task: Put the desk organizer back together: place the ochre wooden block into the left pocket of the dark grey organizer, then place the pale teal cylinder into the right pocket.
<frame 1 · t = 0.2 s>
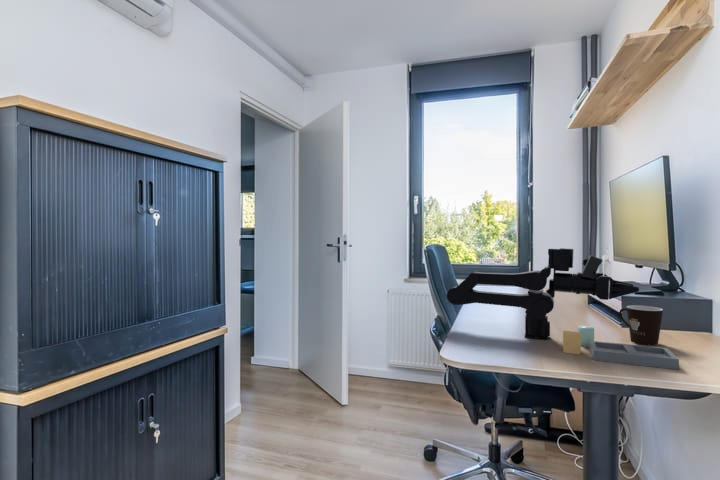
hand: (635, 287, 109), 16 cm above the table, tool horizontal, fingers open, 9 cm apart
ochre block: (571, 351, 105), on the table
organizer: (630, 358, 98), on the table
coffee mug: (641, 341, 114), on the table
teal cylinder: (586, 344, 111), on the table
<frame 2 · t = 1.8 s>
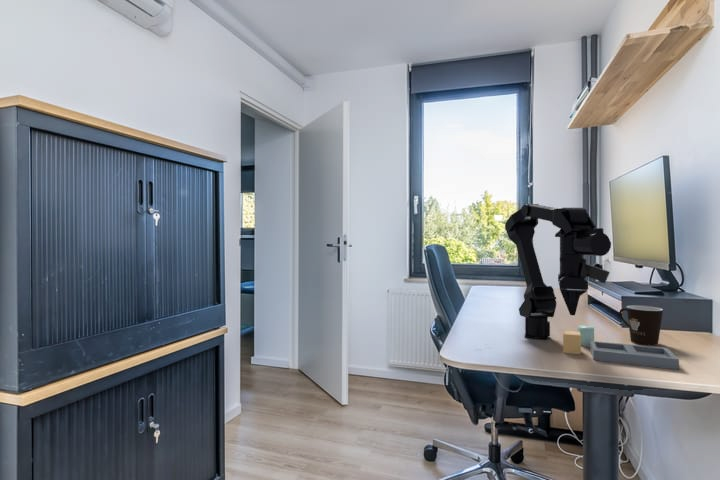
hand: (571, 312, 105), 11 cm above the table, tool pointing down, fingers open, 9 cm apart
nothing on the table moved.
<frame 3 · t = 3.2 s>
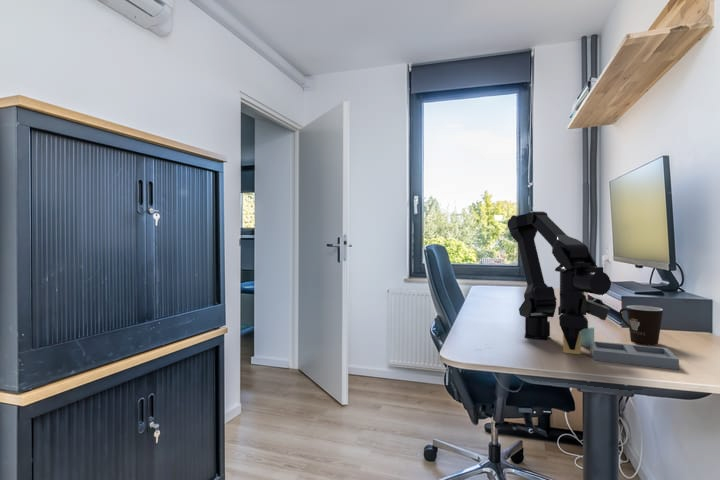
hand: (571, 347, 105), 1 cm above the table, tool pointing down, fingers closed on ochre block, 4 cm apart
ochre block: (571, 351, 105), on the table, touching gripper
everything else where it was.
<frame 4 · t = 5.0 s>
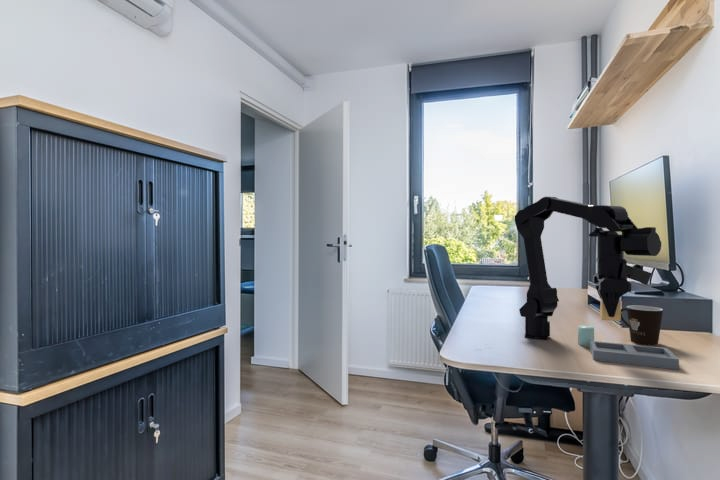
hand: (610, 315, 100), 11 cm above the table, tool pointing down, fingers closed on ochre block, 4 cm apart
ochre block: (610, 319, 100), point 10 cm above the table, touching gripper
everything else where it was.
when the fingers open (3 cm above the table, at t = 6.6 s): ochre block stays where it is, resting on organizer.
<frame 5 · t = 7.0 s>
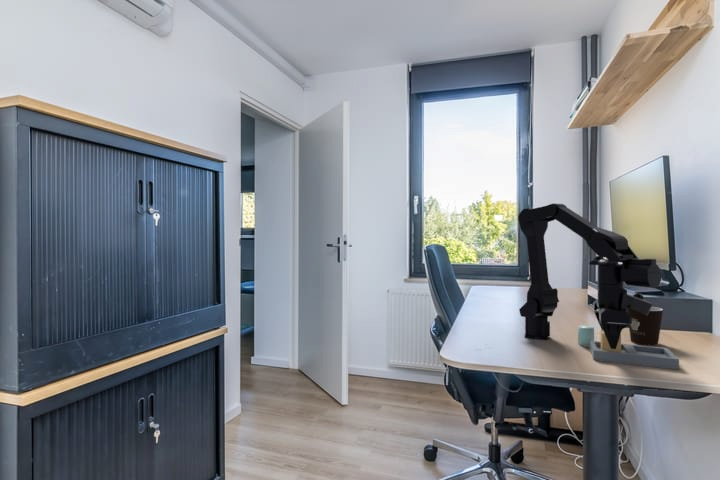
hand: (610, 344, 100), 3 cm above the table, tool pointing down, fingers open, 9 cm apart
ochre block: (610, 351, 100), point 1 cm above the table, touching organizer
everything else where it was.
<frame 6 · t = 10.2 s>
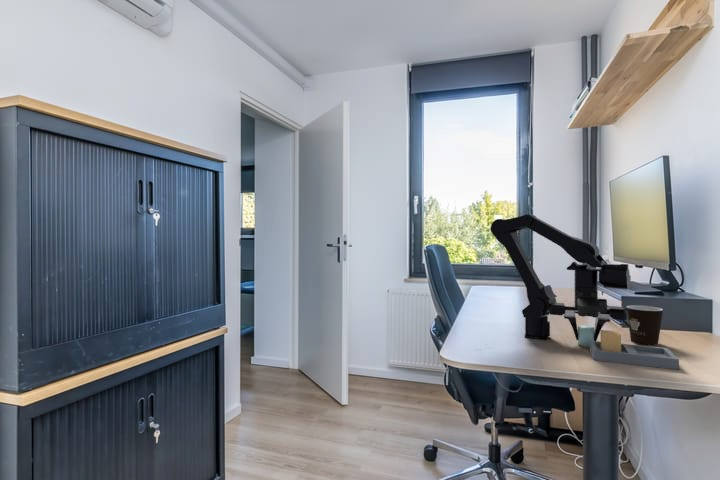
hand: (585, 340, 111), 1 cm above the table, tool pointing down, fingers closed on teal cylinder, 4 cm apart
teal cylinder: (585, 344, 111), on the table, touching gripper
everything else where it was.
when the fingers open (3 cm above the table, at t = 13.9 s): teal cylinder stays where it is, resting on organizer.
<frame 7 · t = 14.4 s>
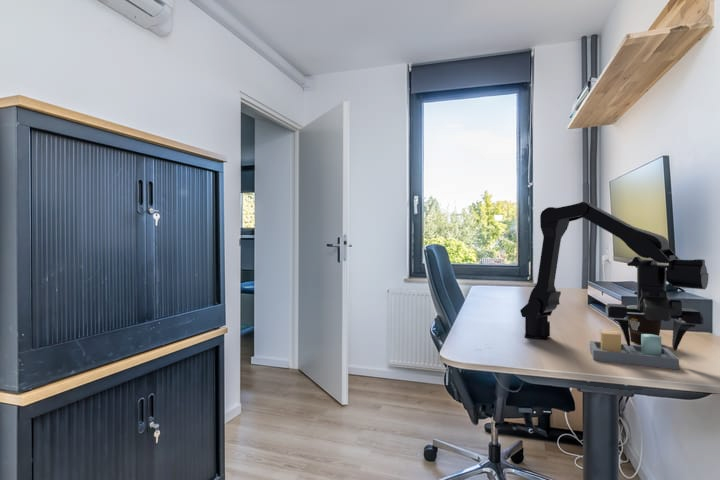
hand: (651, 348, 96), 3 cm above the table, tool pointing down, fingers open, 9 cm apart
teal cylinder: (651, 356, 96), point 1 cm above the table, touching organizer
everything else where it was.
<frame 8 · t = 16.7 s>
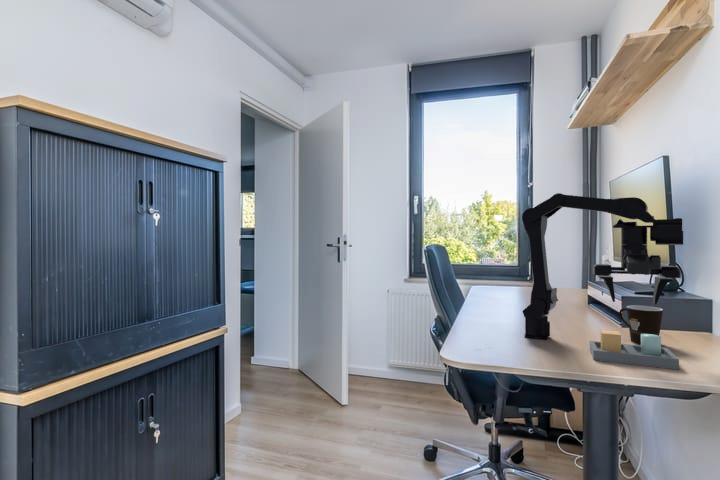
hand: (634, 302, 104), 13 cm above the table, tool pointing down, fingers open, 9 cm apart
nothing on the table moved.
at the end: ochre block inside the target area on the organizer (0.0 cm from its centre), point 1.2 cm above the organizer's base; teal cylinder inside the target area on the organizer (0.0 cm from its centre), point 1.2 cm above the organizer's base; ochre block tilted 0° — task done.
